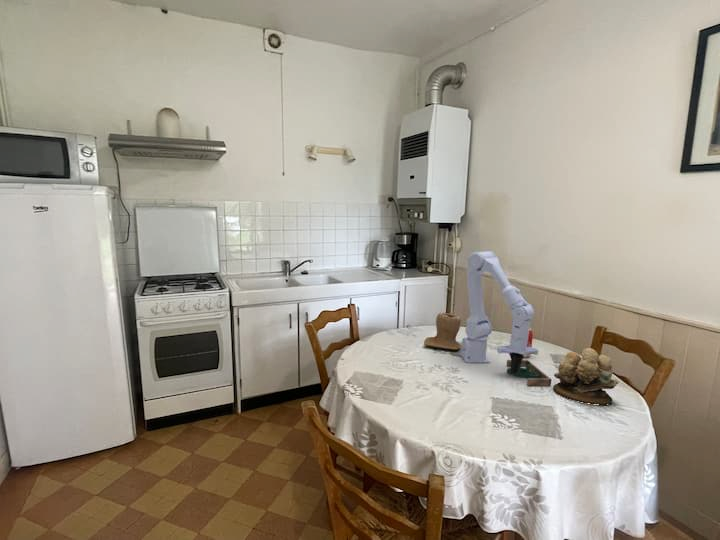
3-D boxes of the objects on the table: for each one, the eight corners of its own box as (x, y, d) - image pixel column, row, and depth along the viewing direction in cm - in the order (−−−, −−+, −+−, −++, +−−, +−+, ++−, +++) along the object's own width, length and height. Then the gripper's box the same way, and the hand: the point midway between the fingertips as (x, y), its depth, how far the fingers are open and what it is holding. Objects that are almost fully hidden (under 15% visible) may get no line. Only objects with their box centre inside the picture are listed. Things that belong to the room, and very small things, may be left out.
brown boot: (461, 344, 166) (463, 312, 163) (458, 353, 155) (461, 319, 152) (428, 339, 171) (429, 308, 168) (423, 348, 160) (425, 315, 157)
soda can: (533, 358, 151) (536, 331, 149) (516, 358, 151) (518, 330, 149) (526, 352, 158) (529, 325, 156) (510, 351, 158) (512, 325, 156)
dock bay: (527, 386, 127) (528, 379, 127) (506, 365, 144) (507, 359, 143) (550, 386, 128) (551, 379, 127) (526, 365, 144) (527, 359, 144)
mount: (506, 374, 136) (507, 361, 135) (507, 369, 140) (508, 357, 139) (538, 380, 132) (540, 367, 131) (538, 375, 136) (540, 363, 135)
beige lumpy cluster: (611, 394, 123) (619, 346, 120) (619, 411, 113) (627, 359, 110) (551, 382, 131) (557, 337, 128) (553, 397, 120) (559, 348, 117)
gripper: (504, 340, 129) (499, 375, 132) (544, 341, 130) (539, 377, 132) (496, 333, 136) (492, 367, 138) (534, 334, 137) (529, 368, 139)
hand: (514, 371), depth 136 cm, fingers closed, pressing on mount
